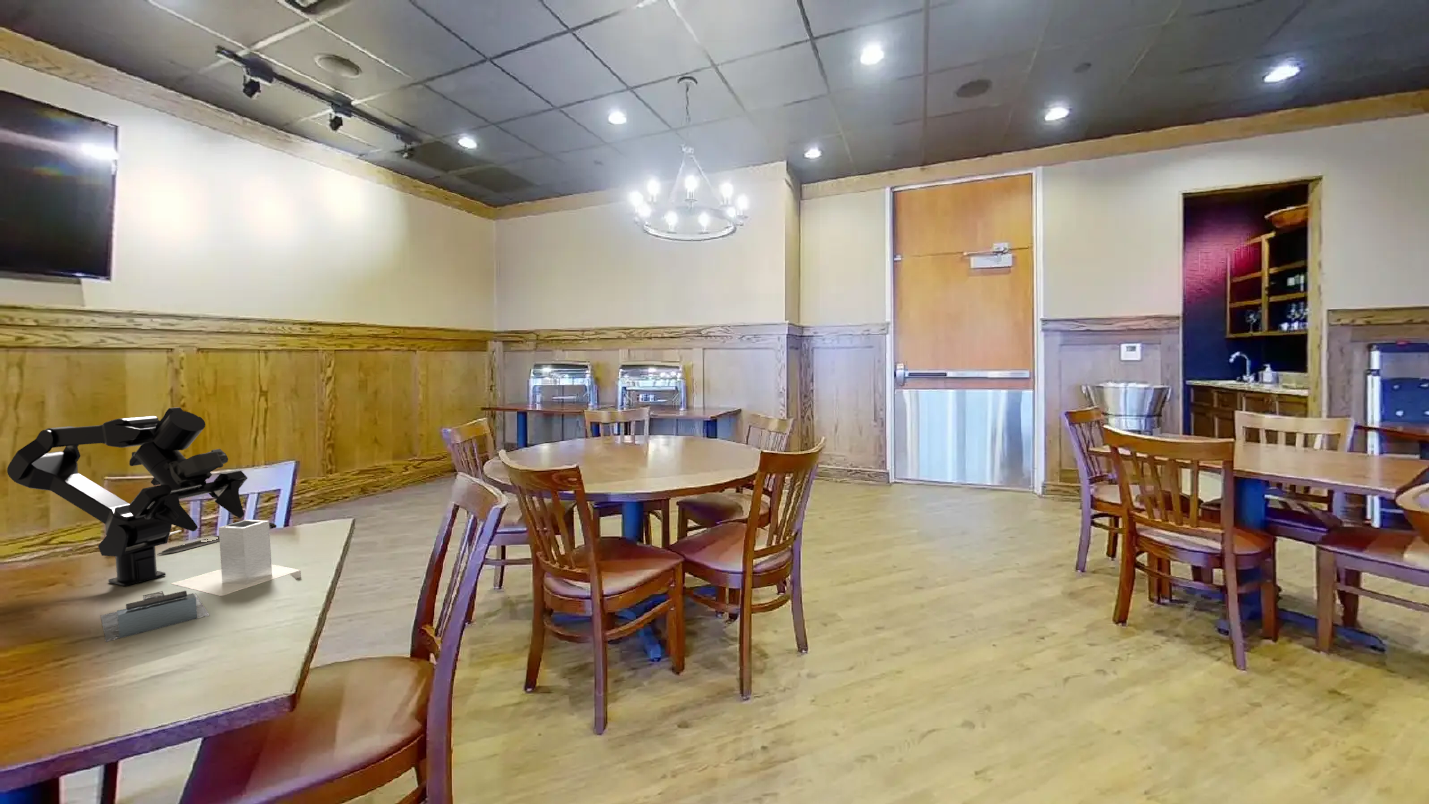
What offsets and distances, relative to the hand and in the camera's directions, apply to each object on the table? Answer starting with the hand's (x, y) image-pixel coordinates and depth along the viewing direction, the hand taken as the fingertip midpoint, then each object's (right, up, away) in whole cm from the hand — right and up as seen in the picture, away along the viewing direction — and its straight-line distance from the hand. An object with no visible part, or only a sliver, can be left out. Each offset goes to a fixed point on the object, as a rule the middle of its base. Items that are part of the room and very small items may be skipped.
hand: (219, 522), depth 113 cm
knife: (-26, -11, +30) cm, 41 cm away
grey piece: (+3, -14, -16) cm, 21 cm away
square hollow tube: (+6, -11, 0) cm, 12 cm away
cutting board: (+3, -12, +1) cm, 13 cm away
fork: (-41, -11, +27) cm, 51 cm away
